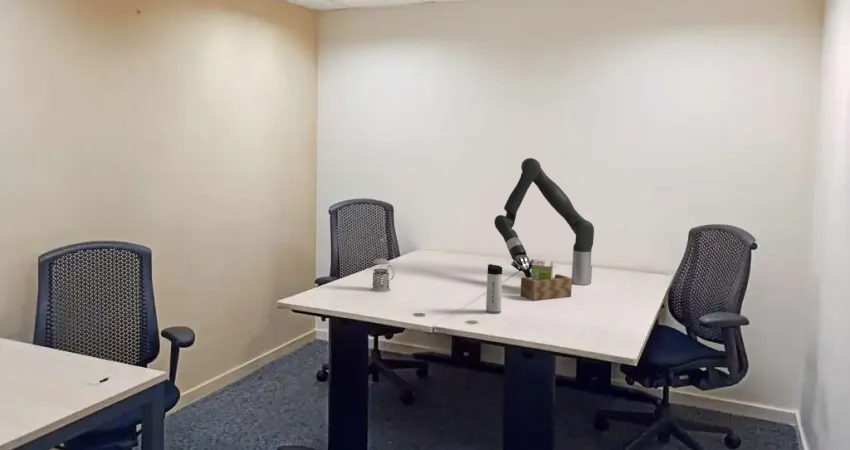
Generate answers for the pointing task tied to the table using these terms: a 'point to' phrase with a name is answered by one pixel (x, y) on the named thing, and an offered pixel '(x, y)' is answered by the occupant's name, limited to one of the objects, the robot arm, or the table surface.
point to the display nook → (546, 288)
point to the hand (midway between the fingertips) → (529, 277)
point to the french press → (381, 276)
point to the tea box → (541, 270)
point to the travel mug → (494, 289)
